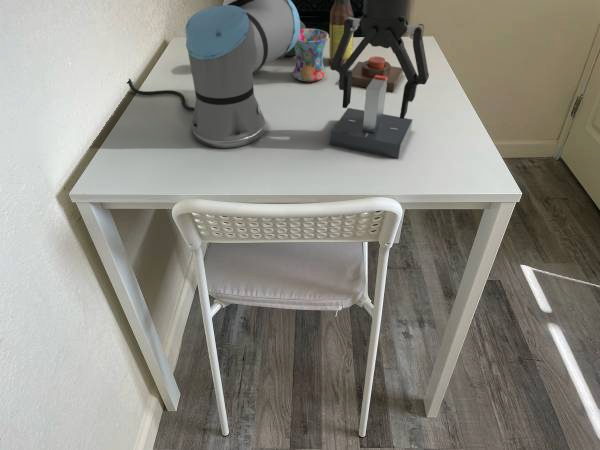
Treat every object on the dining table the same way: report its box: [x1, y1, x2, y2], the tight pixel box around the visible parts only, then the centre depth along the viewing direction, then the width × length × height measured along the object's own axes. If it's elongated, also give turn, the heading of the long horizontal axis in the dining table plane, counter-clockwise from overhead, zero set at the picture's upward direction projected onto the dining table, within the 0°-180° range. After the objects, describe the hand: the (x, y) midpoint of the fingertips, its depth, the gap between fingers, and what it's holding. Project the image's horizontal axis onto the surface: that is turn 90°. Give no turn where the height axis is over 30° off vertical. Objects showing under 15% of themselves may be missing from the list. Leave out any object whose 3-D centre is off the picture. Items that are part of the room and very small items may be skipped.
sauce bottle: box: [329, 0, 355, 64], centre depth 118 cm, size 6×6×20 cm
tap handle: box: [363, 75, 388, 133], centre depth 89 cm, size 6×2×9 cm, turn 157°
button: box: [368, 56, 386, 69], centre depth 113 cm, size 4×4×2 cm
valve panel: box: [330, 107, 413, 159], centre depth 93 cm, size 14×11×3 cm
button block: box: [350, 59, 404, 93], centre depth 115 cm, size 12×10×4 cm
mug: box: [292, 28, 330, 82], centre depth 115 cm, size 12×9×11 cm
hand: (374, 110), depth 90 cm, fingers open, 11 cm apart
